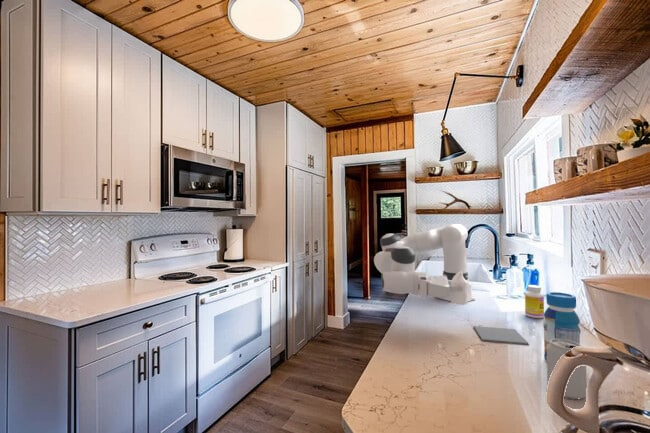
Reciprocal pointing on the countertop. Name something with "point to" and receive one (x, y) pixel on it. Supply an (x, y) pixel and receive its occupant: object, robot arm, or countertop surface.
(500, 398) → the countertop surface
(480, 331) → the mat
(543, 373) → the countertop surface
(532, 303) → the supplement bottle
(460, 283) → the white piece
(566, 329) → the beverage bottle
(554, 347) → the can
